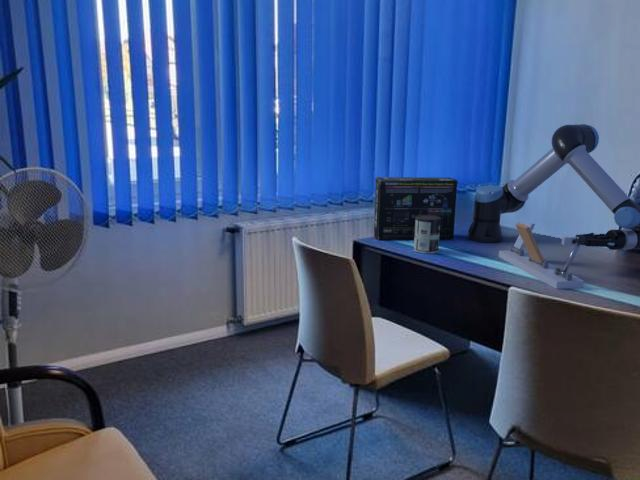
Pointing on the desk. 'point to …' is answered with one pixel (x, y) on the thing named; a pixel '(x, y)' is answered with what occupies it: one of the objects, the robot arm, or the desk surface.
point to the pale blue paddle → (519, 242)
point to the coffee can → (427, 234)
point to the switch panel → (541, 270)
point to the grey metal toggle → (571, 256)
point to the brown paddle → (530, 243)
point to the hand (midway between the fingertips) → (563, 240)
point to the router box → (413, 205)
